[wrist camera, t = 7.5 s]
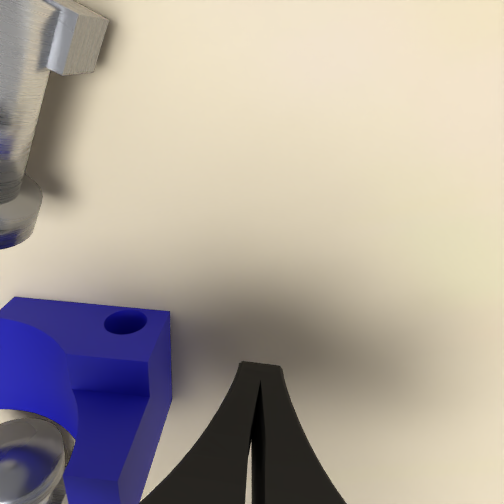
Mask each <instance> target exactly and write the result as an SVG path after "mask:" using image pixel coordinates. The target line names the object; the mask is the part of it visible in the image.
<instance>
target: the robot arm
mask: <svg viewBox="0 0 504 504" xmlns="http://www.w3.org/2000/svg"><path fill="white" fill-rule="evenodd" d="M251 439H252V504H346V502H345V501H344V499H343V498H342V497H341V495H340V494H339V492H338V491H337V489H336V488H335V487H334V485H333V484H332V482H331V480H330V479H329V477H328V475H327V474H326V472H325V471H324V469H323V467H322V466H321V464H320V462H319V460H318V459H317V457H316V455H315V453H314V451H313V449H312V447H311V445H310V443H309V441H308V439H307V437H306V435H305V433H304V431H303V429H302V427H301V424H300V422H299V420H298V417H297V415H296V412H295V410H294V407H293V405H292V402H291V399H290V396H289V393H288V390H287V387H286V384H285V380H284V376H283V371H282V368H281V367H280V366H277V365H269V364H261V363H254V362H246V361H242V362H241V363H239V367H238V370H237V373H236V376H235V378H234V381H233V383H232V385H231V387H230V389H229V391H228V393H227V395H226V397H225V399H224V401H223V402H222V404H221V406H220V408H219V409H218V411H217V413H216V414H215V416H214V417H213V419H212V420H211V422H210V423H209V425H208V427H207V428H206V429H205V431H204V432H203V434H202V435H201V436H200V438H199V439H198V440H197V442H196V443H195V444H194V446H193V447H192V448H191V449H190V451H189V452H188V453H187V454H186V455H185V457H184V458H183V459H182V460H181V461H180V463H179V464H178V465H177V466H176V467H175V468H174V469H173V470H172V471H171V473H170V474H169V475H168V476H167V477H166V478H165V479H164V480H163V481H162V482H161V483H160V484H159V485H158V486H157V487H156V488H155V489H154V490H153V491H152V492H151V493H150V494H149V495H148V496H146V497H145V498H144V499H143V500H142V501H141V502H140V503H139V504H245V493H246V477H247V463H248V455H249V450H250V445H251Z"/></svg>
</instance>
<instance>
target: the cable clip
mask: <svg viewBox="0 0 504 504" xmlns="http://www.w3.org/2000/svg"><path fill="white" fill-rule="evenodd" d="M171 401H172V379H171V340H170V311H161V310H150V309H140V308H129V307H118V306H108V305H97V304H86V303H76V302H65V301H54V300H44V299H33V298H22V297H14V298H13V299H12V300H10V301H9V302H8V303H7V304H6V305H5V306H4V307H3V308H2V309H1V310H0V409H13V410H22V411H27V412H32V413H36V414H39V415H42V416H45V417H47V418H49V419H51V420H53V421H55V422H57V423H58V424H60V425H61V426H63V427H64V428H65V429H66V430H67V431H68V432H69V433H70V434H71V435H72V436H73V437H74V438H75V440H76V442H75V446H74V449H73V452H72V455H71V458H70V460H69V463H68V465H67V467H66V469H65V471H64V474H63V480H64V484H65V489H66V494H67V499H68V504H139V502H140V499H141V496H142V493H143V490H144V486H145V483H146V480H147V477H148V474H149V471H150V468H151V464H152V461H153V458H154V455H155V452H156V449H157V445H158V442H159V439H160V436H161V433H162V430H163V426H164V423H165V420H166V417H167V414H168V411H169V408H170V404H171Z"/></svg>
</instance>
